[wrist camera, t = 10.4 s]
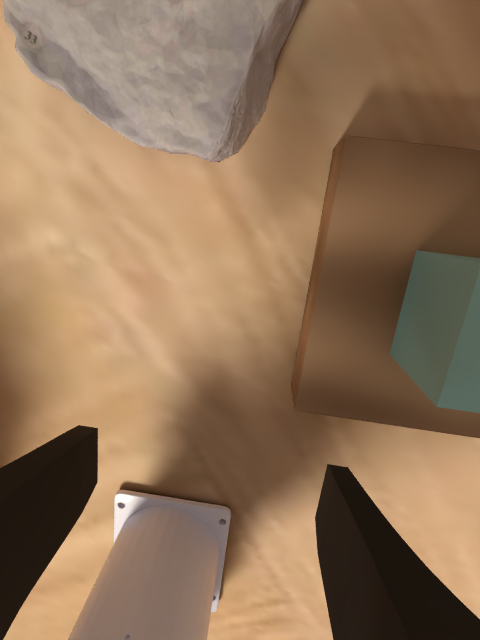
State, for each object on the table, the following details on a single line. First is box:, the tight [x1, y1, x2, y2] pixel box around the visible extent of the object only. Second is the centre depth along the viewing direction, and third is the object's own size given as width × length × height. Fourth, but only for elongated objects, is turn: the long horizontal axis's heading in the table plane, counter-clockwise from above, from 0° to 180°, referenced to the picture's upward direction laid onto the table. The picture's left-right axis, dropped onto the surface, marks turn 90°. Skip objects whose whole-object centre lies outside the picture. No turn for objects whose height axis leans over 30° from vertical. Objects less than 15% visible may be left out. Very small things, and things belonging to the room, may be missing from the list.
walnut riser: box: [291, 136, 480, 438], centre depth 18 cm, size 13×13×3 cm
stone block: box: [4, 0, 303, 162], centre depth 16 cm, size 12×5×10 cm
